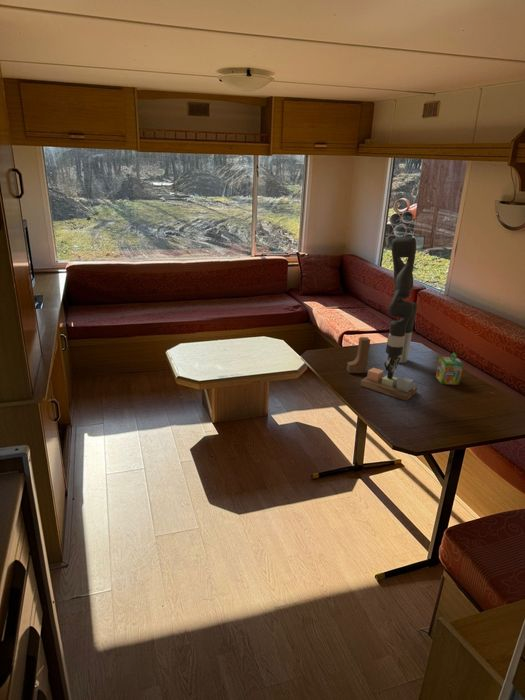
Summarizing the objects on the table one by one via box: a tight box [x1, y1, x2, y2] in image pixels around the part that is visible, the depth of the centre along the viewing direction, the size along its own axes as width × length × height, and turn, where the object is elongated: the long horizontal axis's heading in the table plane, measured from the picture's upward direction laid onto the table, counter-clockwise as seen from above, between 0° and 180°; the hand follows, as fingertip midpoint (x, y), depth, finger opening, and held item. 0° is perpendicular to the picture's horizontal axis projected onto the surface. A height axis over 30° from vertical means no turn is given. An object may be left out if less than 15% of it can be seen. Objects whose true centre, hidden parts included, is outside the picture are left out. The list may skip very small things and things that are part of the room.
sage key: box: [381, 374, 399, 387], centre depth 235 cm, size 6×6×5 cm
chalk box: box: [434, 352, 464, 386], centre depth 246 cm, size 9×9×15 cm
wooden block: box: [346, 336, 371, 374], centre depth 251 cm, size 9×4×18 cm, turn 97°
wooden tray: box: [360, 375, 418, 402], centre depth 235 cm, size 12×23×3 cm, turn 52°
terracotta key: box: [366, 367, 384, 383], centre depth 238 cm, size 6×6×5 cm
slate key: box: [396, 376, 414, 392], centre depth 230 cm, size 6×6×5 cm
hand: (389, 378), depth 234 cm, fingers closed
